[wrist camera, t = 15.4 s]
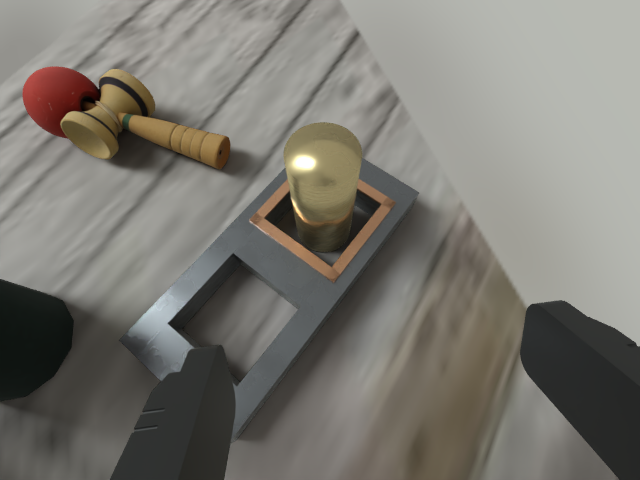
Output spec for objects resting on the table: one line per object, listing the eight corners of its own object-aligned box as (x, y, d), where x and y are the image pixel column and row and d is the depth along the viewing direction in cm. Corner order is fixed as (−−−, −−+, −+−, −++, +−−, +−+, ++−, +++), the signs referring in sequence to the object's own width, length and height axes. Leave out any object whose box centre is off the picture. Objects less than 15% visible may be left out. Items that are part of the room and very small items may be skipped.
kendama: (246, 133, 35) (75, 77, 34) (235, 95, 28) (27, 27, 28) (218, 203, 33) (40, 145, 33) (200, 179, 27) (-19, 108, 27)
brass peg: (286, 231, 29) (267, 159, 19) (318, 194, 30) (316, 110, 21) (328, 262, 28) (330, 201, 18) (360, 222, 29) (377, 147, 20)
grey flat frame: (137, 344, 25) (117, 339, 23) (320, 150, 32) (319, 130, 29) (236, 439, 23) (225, 446, 20) (411, 207, 29) (419, 191, 27)
